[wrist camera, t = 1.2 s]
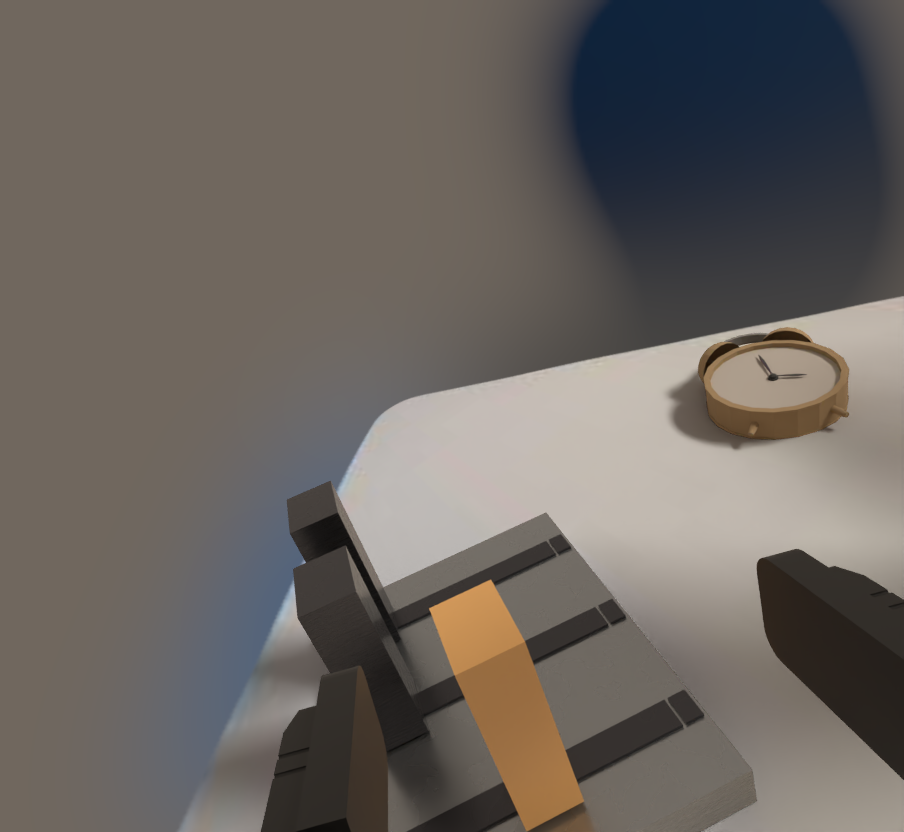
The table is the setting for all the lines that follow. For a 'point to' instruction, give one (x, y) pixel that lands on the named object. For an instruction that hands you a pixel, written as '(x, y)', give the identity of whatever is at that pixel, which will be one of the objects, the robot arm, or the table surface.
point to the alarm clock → (774, 385)
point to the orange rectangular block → (507, 702)
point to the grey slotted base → (559, 671)
